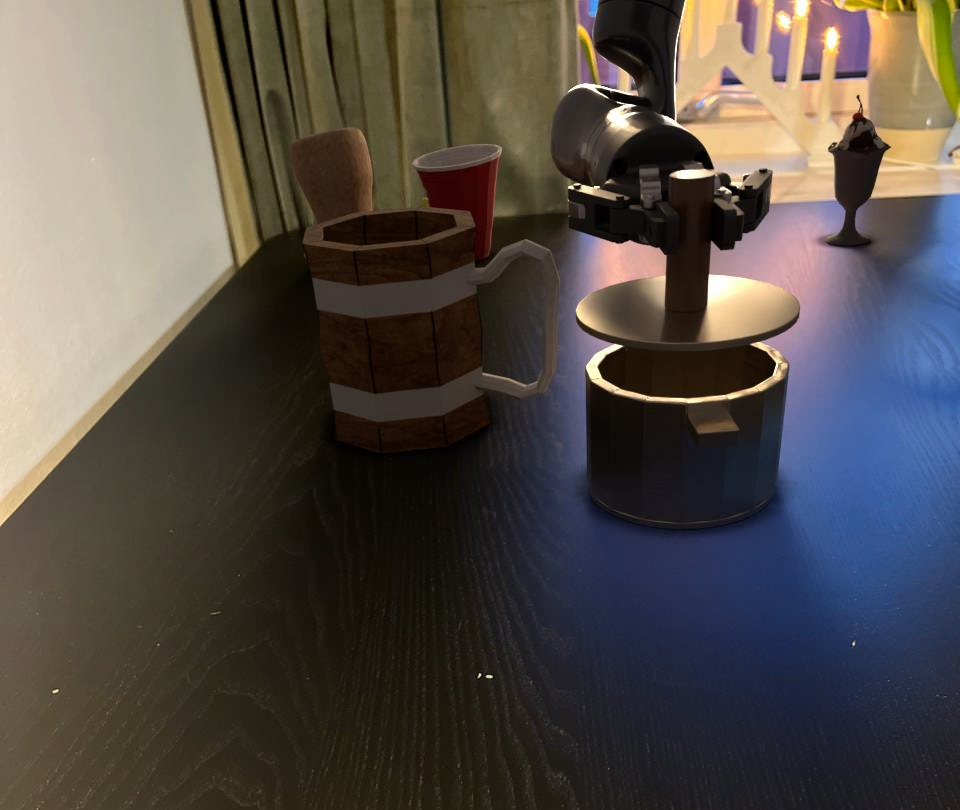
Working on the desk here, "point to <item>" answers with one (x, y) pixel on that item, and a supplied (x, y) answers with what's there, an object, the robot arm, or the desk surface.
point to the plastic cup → (464, 185)
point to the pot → (684, 433)
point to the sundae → (855, 173)
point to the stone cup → (334, 172)
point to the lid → (688, 291)
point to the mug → (413, 325)
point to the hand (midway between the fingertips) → (701, 233)
